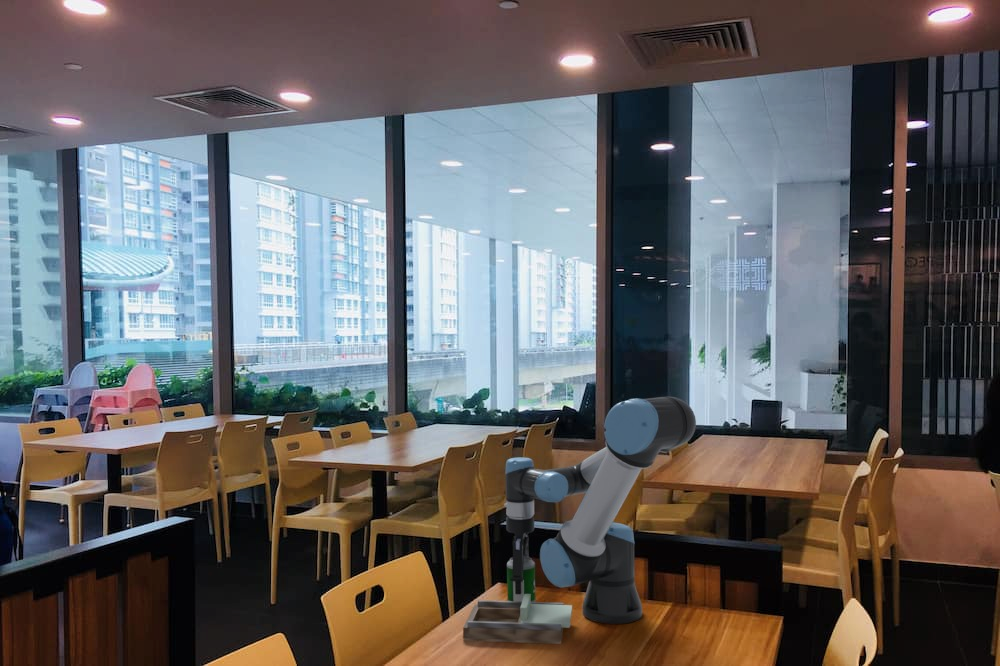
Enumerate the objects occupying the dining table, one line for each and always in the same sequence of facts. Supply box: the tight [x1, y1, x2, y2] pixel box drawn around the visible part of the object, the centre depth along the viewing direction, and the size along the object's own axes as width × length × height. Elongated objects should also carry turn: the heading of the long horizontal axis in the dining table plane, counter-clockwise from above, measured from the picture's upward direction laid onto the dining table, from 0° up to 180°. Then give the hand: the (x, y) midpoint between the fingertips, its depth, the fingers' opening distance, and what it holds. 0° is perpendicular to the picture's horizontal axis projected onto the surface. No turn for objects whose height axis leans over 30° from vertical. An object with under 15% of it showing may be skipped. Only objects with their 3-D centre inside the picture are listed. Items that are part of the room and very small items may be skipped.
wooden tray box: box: [462, 599, 565, 645], centre depth 188 cm, size 23×16×4 cm
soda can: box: [506, 556, 536, 602], centre depth 206 cm, size 8×8×12 cm
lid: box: [520, 594, 573, 629], centre depth 187 cm, size 12×13×4 cm
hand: (521, 597), depth 206 cm, fingers open, 11 cm apart
